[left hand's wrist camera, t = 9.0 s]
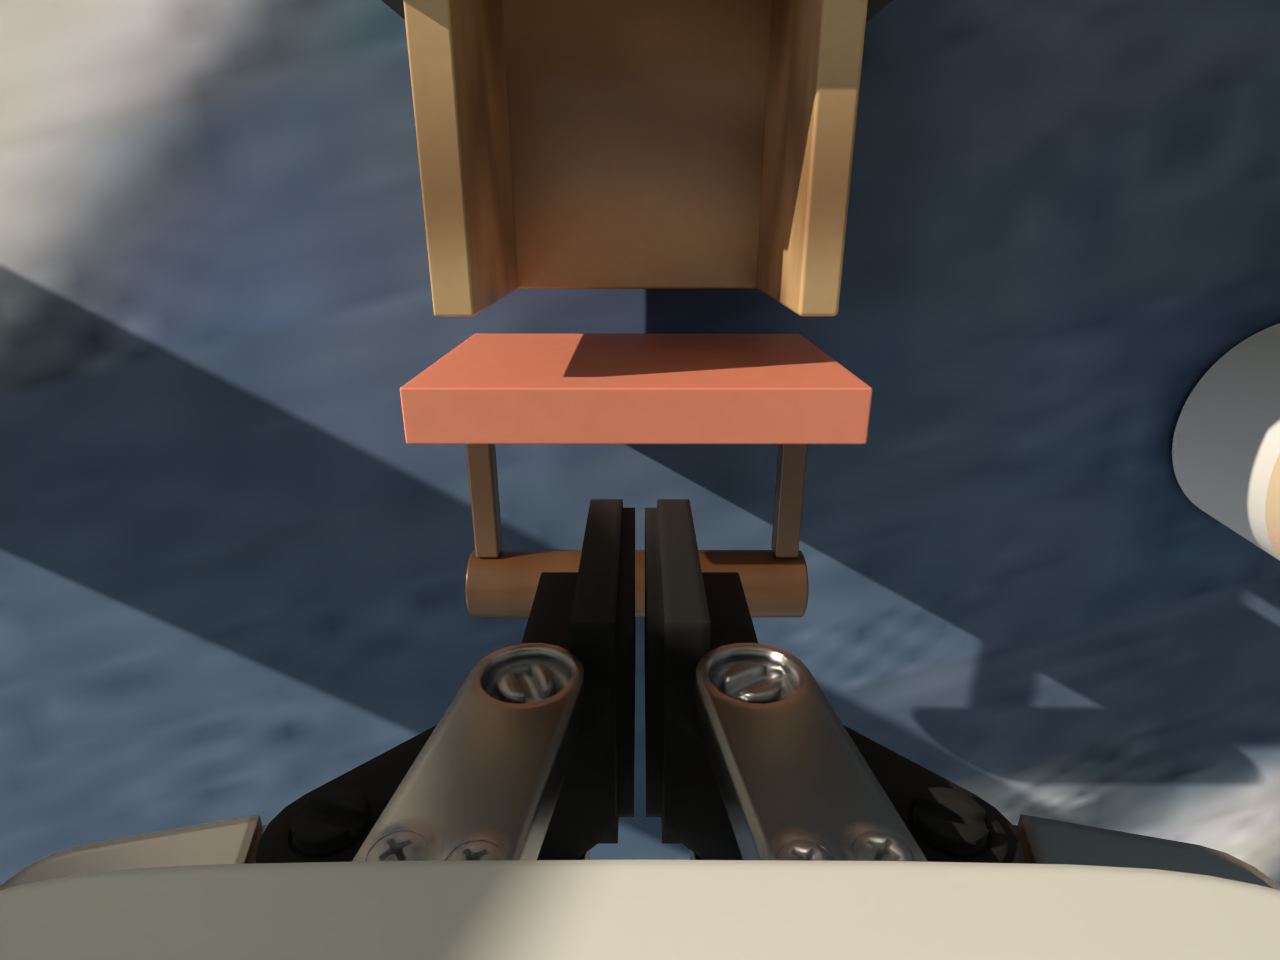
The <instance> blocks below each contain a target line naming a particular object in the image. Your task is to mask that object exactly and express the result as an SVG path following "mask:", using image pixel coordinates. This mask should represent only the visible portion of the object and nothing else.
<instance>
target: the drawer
mask: <svg viewBox="0 0 1280 960" xmlns="http://www.w3.org/2000/svg"><path fill="white" fill-rule="evenodd" d="M403 3H404V14H405V24H406V34H407V44H408V54H409V65H410V75H411V85H412V95H413V105H414V116H415V126H416V136H417V146H418V157H419V167H420V177H421V187H422V197H423V208H424V218H425V228H426V238H427V249H428V259H429V269H430V279H431V289H432V300H433V310H434V315H435V316H474V315H475V314H477V313H479V312H480V311H482V310H484V309H485V308H487V307H488V306H490V305H492V304H493V303H495V302H497V301H498V300H500V299H501V298H503V297H505V296H506V295H508V294H510V293H511V292H513V291H514V290H516V289H759V290H760V291H762V292H764V293H765V294H767V295H768V296H770V297H771V298H773V299H775V300H776V301H778V302H779V303H781V304H782V305H784V306H786V307H787V308H789V309H790V310H792V311H793V312H795V313H797V314H798V315H800V316H836V315H837V313H838V310H839V299H840V289H841V278H842V268H843V257H844V247H845V236H846V226H847V215H848V205H849V195H850V184H851V174H852V163H853V153H854V142H855V132H856V121H857V111H858V100H859V90H860V79H861V69H862V58H863V48H864V37H865V27H866V16H867V6H868V0H403ZM872 391H873V389H872V388H871V387H870V386H869V385H867V384H866V383H865V382H863V381H862V380H861V379H859V378H858V377H857V376H855V375H854V374H853V373H851V372H850V371H849V370H847V369H846V368H845V367H843V366H842V365H841V364H839V363H838V362H837V361H835V360H834V359H833V358H831V357H830V356H829V355H827V354H826V353H825V352H823V351H822V350H821V349H819V348H818V347H817V346H815V345H814V344H813V343H811V342H810V341H809V340H807V339H806V338H805V337H803V336H802V335H801V334H474V335H472V336H471V337H470V338H468V339H467V340H465V341H464V342H463V343H461V344H460V345H459V346H457V347H456V348H454V349H453V350H452V351H450V352H449V353H448V354H446V355H445V356H443V357H442V358H441V359H439V360H438V361H437V362H435V363H434V364H432V365H431V366H430V367H428V368H427V369H426V370H424V371H423V372H421V373H420V374H419V375H417V376H416V377H415V378H413V379H412V380H410V381H409V382H408V383H406V384H405V385H404V386H402V387H401V388H400V395H401V404H402V412H403V421H404V429H405V438H406V443H407V444H466V451H467V463H468V474H469V485H470V497H471V508H472V519H473V531H474V542H475V551H473V552H472V553H471V555H470V557H469V560H468V565H467V570H466V581H465V595H466V604H467V609H468V612H469V614H470V616H472V617H529V616H530V612H531V608H532V605H533V601H534V597H535V594H536V590H537V587H538V583H539V579H540V576H541V574H542V572H578V570H579V565H580V559H581V553H582V550H502V533H501V519H500V506H499V492H498V478H497V465H496V451H495V444H779V448H778V462H777V476H776V490H775V504H774V518H773V532H772V546H771V547H772V550H698V553H699V559H700V565H701V570H702V572H738V574H739V576H740V579H741V583H742V587H743V590H744V594H745V597H746V601H747V605H748V608H749V612H750V616H751V617H802V616H804V614H805V611H806V608H807V602H808V573H807V566H806V562H805V558H804V556H803V553H802V552H801V551H799V538H800V527H801V515H802V503H803V492H804V480H805V468H806V457H807V445H808V444H866V442H867V434H868V426H869V417H870V408H871V400H872ZM635 617H645V550H635Z"/></svg>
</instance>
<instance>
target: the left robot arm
mask: <svg viewBox="0 0 1280 960" xmlns="http://www.w3.org/2000/svg"><path fill="white" fill-rule="evenodd" d="M634 738H635V508H623V500H591V501H590V507H589V513H588V518H587V524H586V530H585V536H584V542H583V547H582V553H581V559H580V565H579V570H578V572H542V574H541V576H540V579H539V583H538V587H537V590H536V594H535V597H534V601H533V605H532V608H531V612H530V616H529V619H528V623H527V626H526V630H525V634H524V637H523V641H522V644H517V645H511V646H507V647H505V648H502V649H499V650H496V651H494V652H492V653H490V654H489V655H487V656H486V657H484V658H482V659H481V660H480V661H479V662H478V663H477V664H476V665H475V666H474V667H473V668H472V670H471V671H470V673H469V674H468V676H467V677H466V679H465V681H464V682H463V684H462V685H461V687H460V689H459V690H458V692H457V693H456V695H455V697H454V698H453V700H452V702H451V703H450V705H449V706H448V708H447V710H446V711H445V713H444V714H443V716H442V718H441V719H440V721H439V722H438V724H437V725H436V726H434V727H432V728H430V729H429V730H427V731H425V732H423V733H421V734H419V735H417V736H415V737H413V738H411V739H410V740H408V741H406V742H404V743H402V744H400V745H398V746H396V747H394V748H393V749H391V750H389V751H387V752H385V753H383V754H381V755H379V756H377V757H375V758H374V759H372V760H370V761H368V762H366V763H364V764H362V765H360V766H358V767H357V768H355V769H353V770H351V771H349V772H347V773H345V774H343V775H341V776H339V777H338V778H336V779H334V780H332V781H330V782H328V783H326V784H324V785H322V786H321V787H319V788H317V789H315V790H313V791H311V792H309V793H307V794H305V795H304V796H302V797H301V798H299V799H298V800H296V801H294V802H293V803H291V804H290V805H288V806H287V807H285V808H284V809H283V810H282V811H281V812H280V813H279V814H278V815H277V816H276V817H275V818H274V819H273V820H272V821H271V822H270V823H269V825H264V826H262V823H261V819H260V815H259V814H258V815H253V816H247V817H241V818H235V819H229V820H224V821H218V822H212V823H206V824H201V825H195V826H189V827H183V828H178V829H172V830H166V831H160V832H155V833H149V834H143V835H137V836H131V837H126V838H120V839H114V840H108V841H103V842H97V843H91V844H85V845H80V846H77V847H73V848H70V849H66V850H63V851H59V852H56V853H53V854H51V855H49V856H47V857H45V858H43V859H41V860H39V861H37V862H35V863H33V864H31V865H29V866H27V867H25V868H24V869H22V870H21V871H20V872H18V873H17V874H15V875H14V876H13V877H11V878H10V879H9V880H7V881H6V882H5V883H3V884H2V885H0V960H1280V885H1278V884H1277V883H1275V882H1274V881H1273V880H1271V879H1270V878H1269V877H1267V876H1266V875H1265V874H1263V873H1262V872H1260V871H1259V870H1258V869H1256V868H1255V867H1253V866H1251V865H1249V864H1247V863H1245V862H1243V861H1241V860H1239V859H1237V858H1235V857H1233V856H1231V855H1229V854H1227V853H1224V852H1221V851H1217V850H1214V849H1210V848H1207V847H1203V846H1200V845H1195V844H1189V843H1183V842H1177V841H1172V840H1166V839H1160V838H1154V837H1149V836H1143V835H1137V834H1131V833H1125V832H1120V831H1114V830H1108V829H1102V828H1097V827H1091V826H1085V825H1079V824H1074V823H1068V822H1062V821H1056V820H1051V819H1045V818H1039V817H1033V816H1027V815H1022V814H1021V815H1020V819H1019V823H1018V826H1016V825H1011V823H1010V822H1009V821H1008V820H1007V819H1006V818H1005V817H1004V816H1003V815H1002V814H1001V813H1000V812H999V811H998V810H997V809H996V808H995V807H993V806H992V805H990V804H989V803H987V802H986V801H984V800H982V799H981V798H979V797H978V796H976V795H975V794H973V793H971V792H969V791H967V790H965V789H963V788H961V787H959V786H958V785H956V784H954V783H952V782H950V781H948V780H946V779H944V778H942V777H941V776H939V775H937V774H935V773H933V772H931V771H929V770H927V769H925V768H923V767H922V766H920V765H918V764H916V763H914V762H912V761H910V760H908V759H906V758H905V757H903V756H901V755H899V754H897V753H895V752H893V751H891V750H889V749H887V748H886V747H884V746H882V745H880V744H878V743H876V742H874V741H872V740H870V739H869V738H867V737H865V736H863V735H861V734H859V733H857V732H855V731H853V730H851V729H850V728H848V727H846V726H844V725H843V724H842V722H841V721H840V719H839V718H838V716H837V714H836V713H835V711H834V710H833V708H832V706H831V705H830V703H829V702H828V700H827V698H826V697H825V695H824V693H823V692H822V690H821V689H820V687H819V685H818V684H817V682H816V681H815V679H814V677H813V676H812V674H811V673H810V671H809V670H808V668H807V667H806V666H805V665H804V664H803V663H802V662H801V661H800V660H799V659H798V658H796V657H794V656H793V655H791V654H790V653H788V652H786V651H784V650H781V649H778V648H775V647H773V646H769V645H763V644H758V641H757V637H756V634H755V630H754V626H753V623H752V619H751V616H750V612H749V608H748V605H747V601H746V597H745V594H744V590H743V587H742V583H741V579H740V576H739V574H738V572H702V570H701V565H700V559H699V553H698V547H697V542H696V536H695V530H694V524H693V518H692V513H691V507H690V501H689V500H657V508H645V738H646V817H661V820H662V843H682V844H684V845H685V846H686V847H687V848H689V849H690V860H590V849H591V848H593V847H594V846H595V845H596V844H598V843H618V820H619V817H634Z"/></svg>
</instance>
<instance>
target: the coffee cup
mask: <svg viewBox="0 0 1280 960" xmlns="http://www.w3.org/2000/svg"><path fill="white" fill-rule="evenodd" d="M1172 460H1173V467H1174V472H1175V475H1176V478H1177V481H1178V483H1179V485H1180V487H1181V489H1182V491H1183V492H1184V494H1185V495H1186V496H1187V497H1188V499H1189V500H1190V501H1191V502H1192V503H1193V504H1194V505H1195V506H1197V507H1198V508H1199V509H1201V510H1202V511H1204V512H1205V513H1207V514H1208V515H1210V516H1211V517H1213V518H1215V519H1216V520H1218V521H1219V522H1221V523H1222V524H1224V525H1225V526H1227V527H1228V528H1230V529H1232V530H1233V531H1235V532H1236V533H1238V534H1239V535H1241V536H1242V537H1244V538H1245V539H1247V540H1249V541H1250V542H1252V543H1253V544H1255V545H1256V546H1258V547H1259V548H1261V549H1262V550H1264V551H1266V552H1267V553H1269V554H1270V555H1272V556H1273V557H1275V558H1276V559H1278V560H1279V561H1280V323H1279V324H1276V325H1273V326H1271V327H1269V328H1266V329H1264V330H1262V331H1260V332H1258V333H1256V334H1254V335H1252V336H1251V337H1249V338H1247V339H1245V340H1244V341H1242V342H1241V343H1239V344H1238V345H1236V346H1235V347H1234V348H1232V349H1231V350H1230V351H1228V352H1227V353H1226V354H1225V355H1224V356H1222V357H1221V358H1220V359H1219V360H1218V361H1217V362H1216V363H1215V364H1214V365H1213V366H1212V367H1211V368H1210V369H1209V370H1208V371H1207V372H1206V373H1205V375H1204V376H1203V377H1202V378H1201V380H1200V381H1199V382H1198V383H1197V385H1196V386H1195V388H1194V389H1193V391H1192V392H1191V394H1190V395H1189V397H1188V399H1187V401H1186V403H1185V405H1184V407H1183V409H1182V411H1181V413H1180V416H1179V418H1178V421H1177V424H1176V428H1175V432H1174V437H1173V445H1172Z"/></svg>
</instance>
